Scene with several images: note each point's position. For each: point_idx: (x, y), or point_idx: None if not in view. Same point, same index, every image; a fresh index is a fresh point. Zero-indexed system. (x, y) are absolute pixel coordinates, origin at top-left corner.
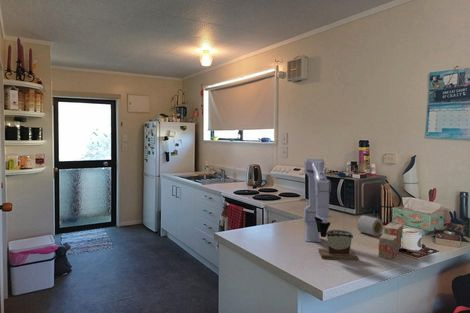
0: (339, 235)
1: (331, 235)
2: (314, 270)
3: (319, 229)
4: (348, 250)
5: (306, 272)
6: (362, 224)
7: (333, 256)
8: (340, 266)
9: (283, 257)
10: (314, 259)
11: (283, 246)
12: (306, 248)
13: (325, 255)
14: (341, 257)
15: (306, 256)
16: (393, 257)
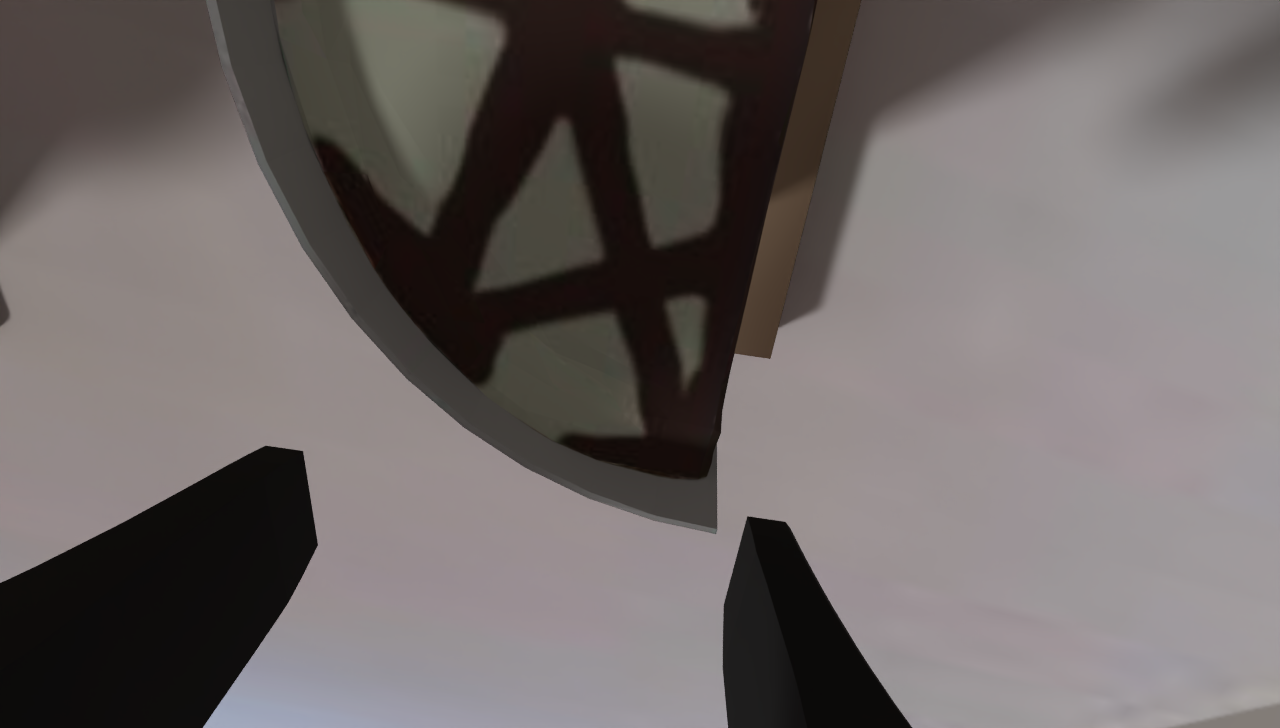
0: (799, 43)
1: (728, 352)
2: (1142, 541)
3: (266, 582)
4: None
5: (1159, 624)
6: None
7: (816, 170)
8: (1154, 158)
9: (679, 698)
10: (777, 437)
11: (312, 626)
12: (326, 410)
13: (774, 305)
14: (852, 2)
15: None
16: None
